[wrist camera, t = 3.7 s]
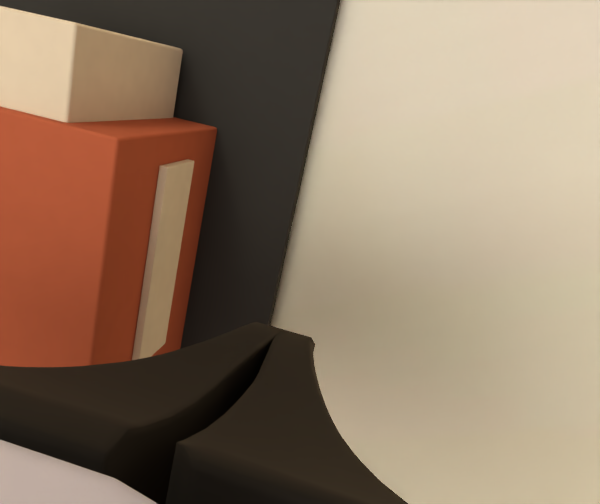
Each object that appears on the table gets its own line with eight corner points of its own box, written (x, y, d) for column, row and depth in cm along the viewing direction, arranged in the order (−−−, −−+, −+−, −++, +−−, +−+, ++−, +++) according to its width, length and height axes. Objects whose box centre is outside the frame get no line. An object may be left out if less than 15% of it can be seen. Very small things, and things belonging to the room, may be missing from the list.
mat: (222, 542, 19) (219, 551, 19) (-174, 407, 22) (-185, 412, 21) (344, -21, 14) (343, -24, 14) (-190, -127, 16) (-204, -132, 16)
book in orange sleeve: (170, 443, 18) (74, 576, 13) (27, 397, 19) (-120, 506, 14) (237, 61, 15) (142, 37, 10) (59, 21, 16) (-119, -21, 10)
